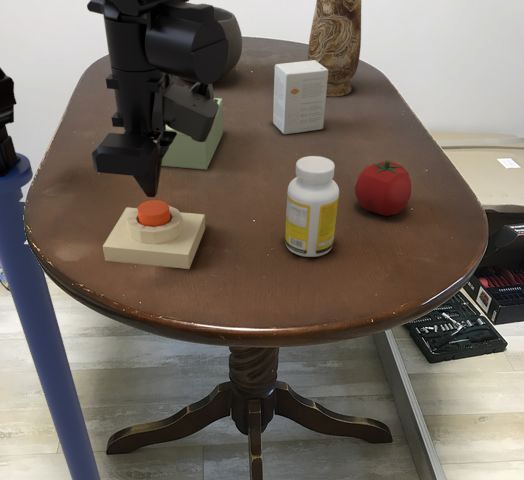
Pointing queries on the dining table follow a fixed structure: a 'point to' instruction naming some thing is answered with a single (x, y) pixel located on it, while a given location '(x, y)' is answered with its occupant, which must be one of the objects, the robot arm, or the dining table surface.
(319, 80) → the small box
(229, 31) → the bowl
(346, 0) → the vase
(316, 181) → the pill bottle
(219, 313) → the dining table surface
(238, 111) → the dining table surface
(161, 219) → the button
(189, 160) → the box
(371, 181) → the tomato
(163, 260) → the release console
